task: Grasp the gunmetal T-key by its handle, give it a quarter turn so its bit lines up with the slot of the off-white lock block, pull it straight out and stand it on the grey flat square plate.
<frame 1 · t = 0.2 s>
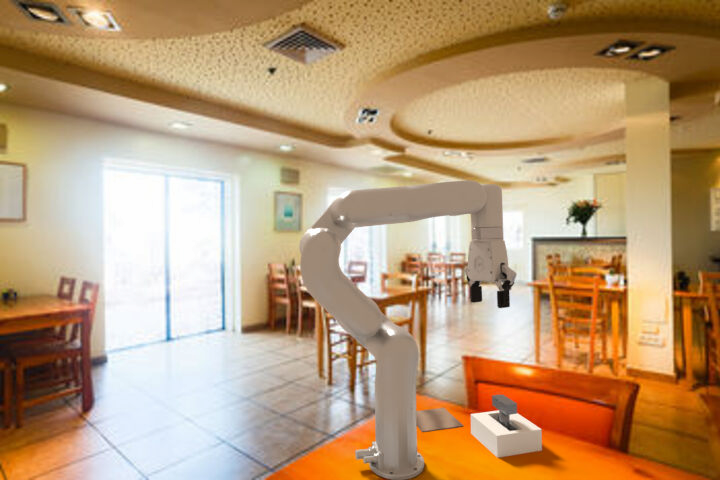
hand: (489, 304, 97), 36 cm above the table, tool pointing down, fingers open, 9 cm apart
grey flat square plate: (433, 422, 111), on the table
t key: (504, 441, 98), point 1 cm above the table, touching lock block
lock block: (504, 445, 98), on the table
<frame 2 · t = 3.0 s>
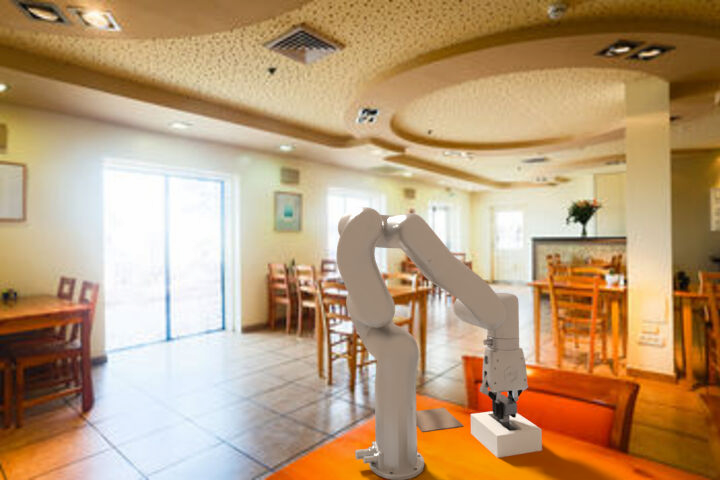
hand: (504, 415, 98), 7 cm above the table, tool pointing down, fingers closed on t key, 3 cm apart
t key: (504, 441, 98), point 1 cm above the table, touching gripper, lock block
everything else where it was.
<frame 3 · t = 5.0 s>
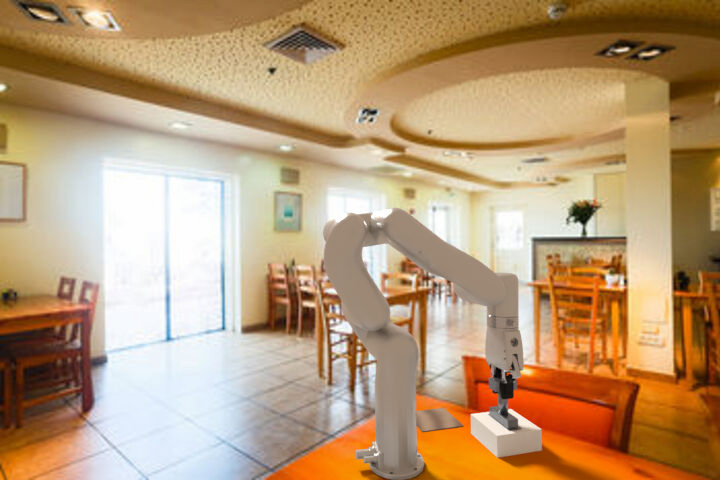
hand: (502, 394, 98), 13 cm above the table, tool pointing down, fingers closed on t key, 3 cm apart
t key: (503, 420, 98), point 6 cm above the table, touching gripper
everything else where it was.
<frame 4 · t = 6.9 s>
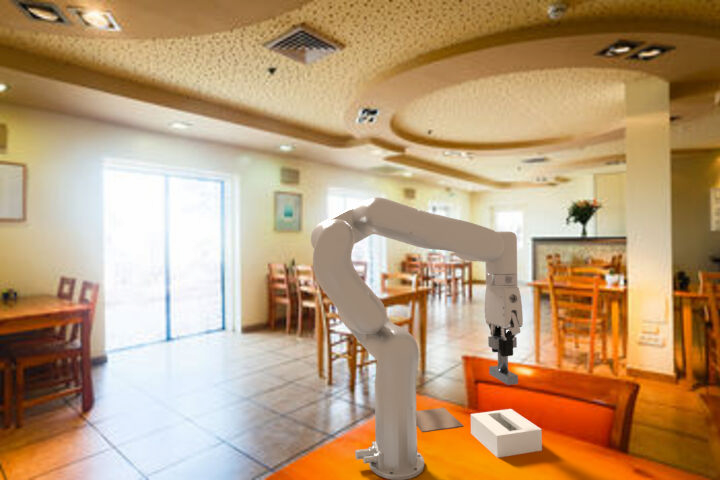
hand: (502, 353, 99), 23 cm above the table, tool pointing down, fingers closed on t key, 3 cm apart
t key: (503, 378, 98), point 17 cm above the table, touching gripper
everything else where it was.
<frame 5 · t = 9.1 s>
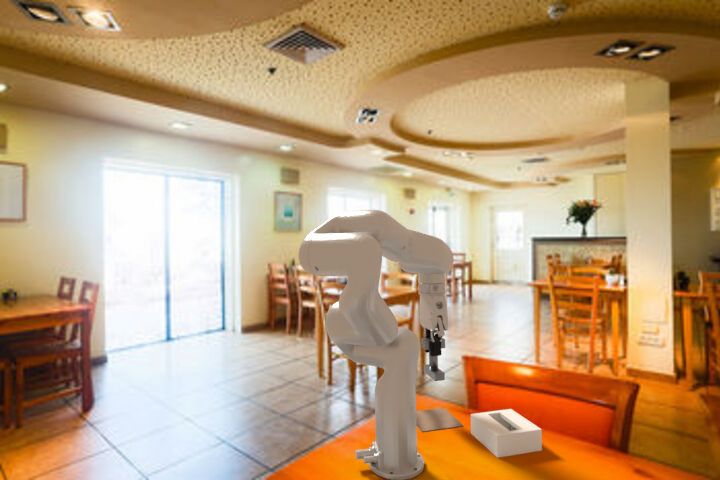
hand: (432, 353, 111), 20 cm above the table, tool pointing down, fingers closed on t key, 3 cm apart
t key: (433, 375, 111), point 13 cm above the table, touching gripper
everything else where it was.
when the fingers open (9 cm above the table, at t = 11.1 s): t key drops 2 cm, resting on grey flat square plate.
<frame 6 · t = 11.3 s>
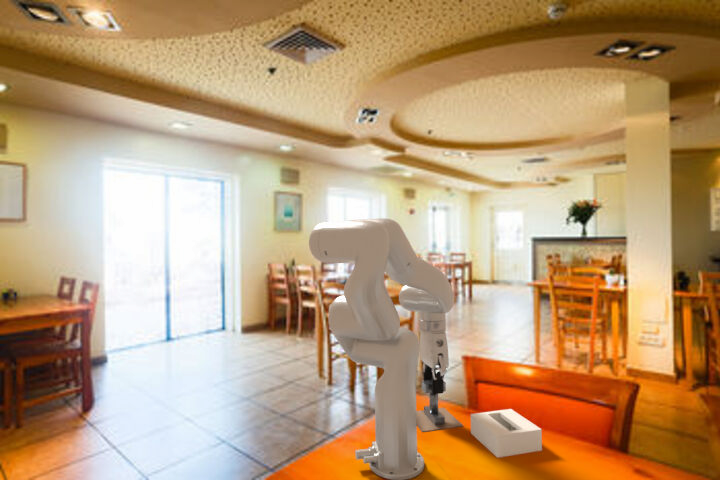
hand: (433, 388, 111), 10 cm above the table, tool pointing down, fingers open, 5 cm apart
t key: (434, 418, 111), point 1 cm above the table, touching grey flat square plate
everything else where it was.
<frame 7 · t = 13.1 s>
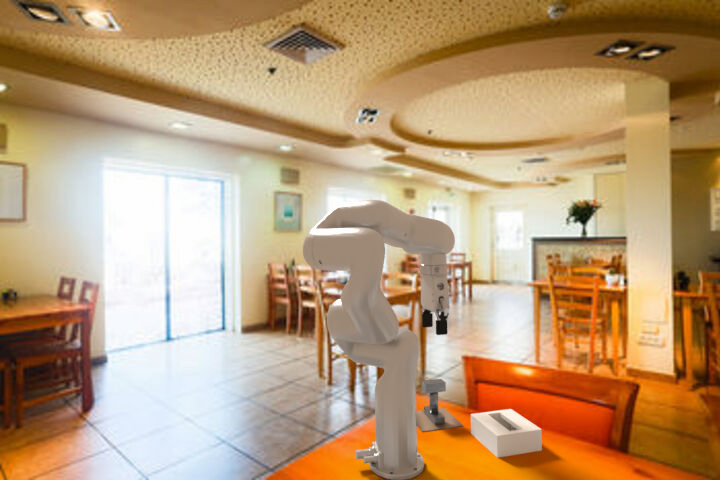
hand: (434, 330, 112), 26 cm above the table, tool pointing down, fingers open, 9 cm apart
nothing on the table moved.
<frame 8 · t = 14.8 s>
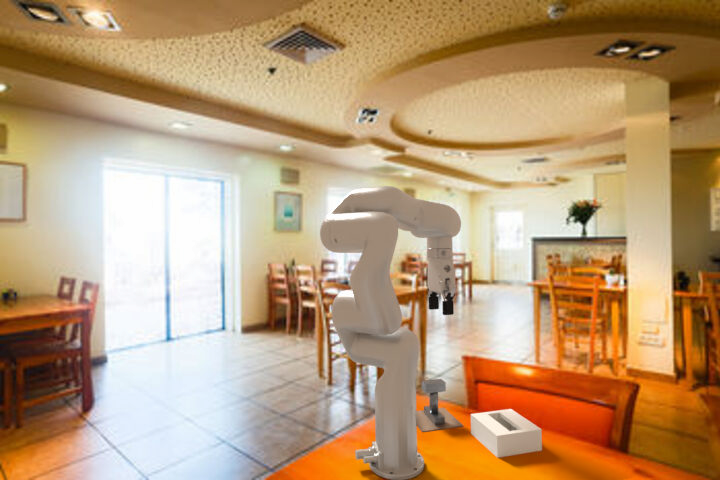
hand: (440, 311, 117), 30 cm above the table, tool pointing down, fingers open, 9 cm apart
nothing on the table moved.
at the end: t key moved 19.9 cm from its start; t key touching grey flat square plate; t key tilted 0° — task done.
